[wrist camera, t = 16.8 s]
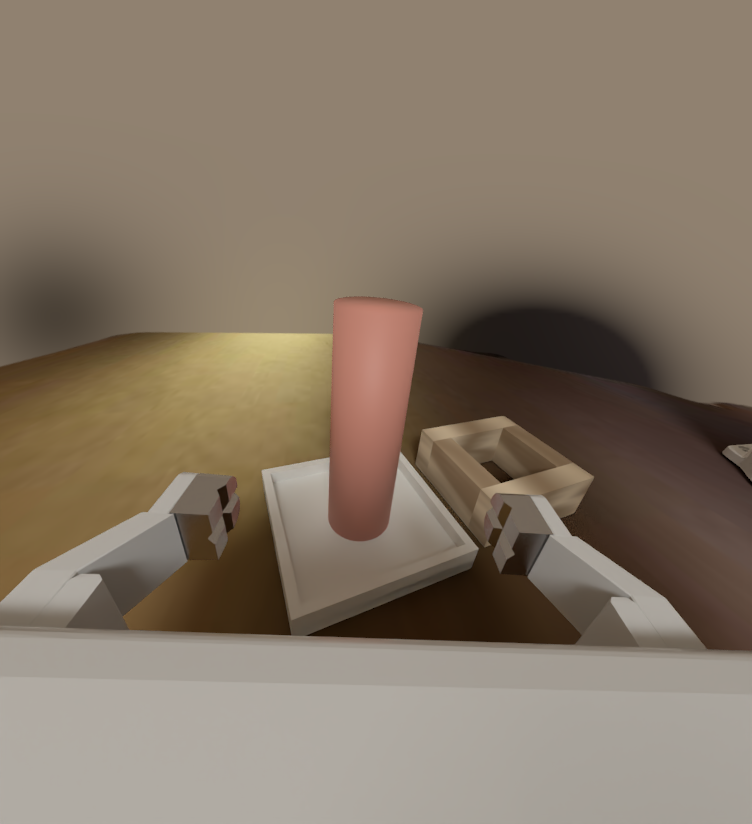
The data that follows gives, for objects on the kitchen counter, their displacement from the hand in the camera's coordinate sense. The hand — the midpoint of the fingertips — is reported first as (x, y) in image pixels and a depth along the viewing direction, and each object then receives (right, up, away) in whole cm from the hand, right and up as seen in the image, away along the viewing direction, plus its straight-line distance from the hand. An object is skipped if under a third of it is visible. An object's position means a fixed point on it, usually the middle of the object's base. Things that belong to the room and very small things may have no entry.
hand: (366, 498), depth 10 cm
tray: (-1, -6, +14) cm, 15 cm away
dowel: (-1, -5, +13) cm, 14 cm away
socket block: (+11, -4, +19) cm, 22 cm away
